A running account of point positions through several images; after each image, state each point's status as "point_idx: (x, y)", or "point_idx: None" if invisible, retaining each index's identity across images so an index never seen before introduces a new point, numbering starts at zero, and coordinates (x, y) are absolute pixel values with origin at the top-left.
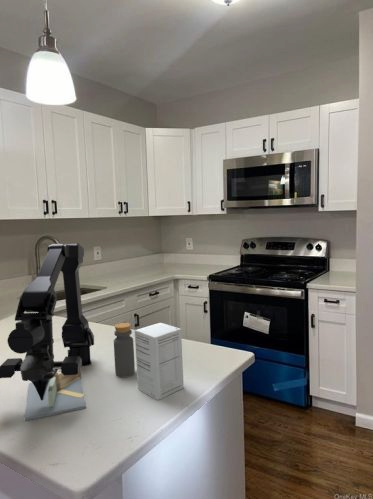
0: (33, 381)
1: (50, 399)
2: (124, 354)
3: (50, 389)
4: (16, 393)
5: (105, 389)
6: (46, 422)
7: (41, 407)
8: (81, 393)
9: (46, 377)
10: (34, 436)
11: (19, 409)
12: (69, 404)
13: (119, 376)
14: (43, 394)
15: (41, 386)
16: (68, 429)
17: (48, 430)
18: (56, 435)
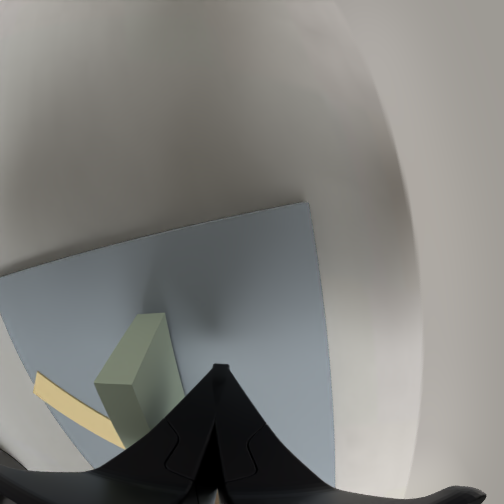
0: (310, 497)
1: (136, 338)
2: None
3: (123, 411)
4: (376, 456)
5: (3, 408)
6: (152, 154)
7: (225, 331)
8: (55, 409)
9: (3, 495)
10: (198, 26)
11: (360, 346)
12: (60, 322)
13: (11, 458)
14: (196, 386)
15: (198, 443)
16: (38, 80)
17: (127, 69)
18: (88, 32)
